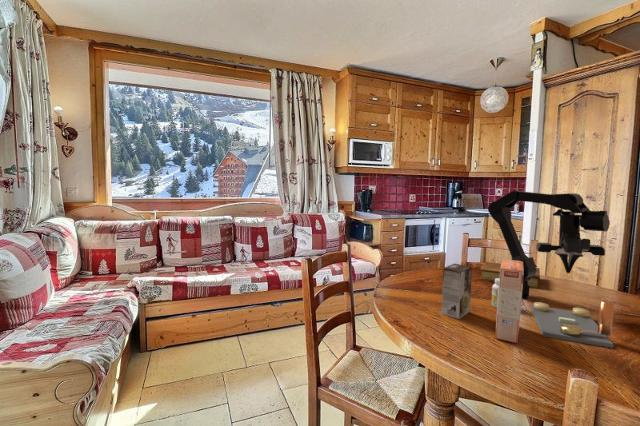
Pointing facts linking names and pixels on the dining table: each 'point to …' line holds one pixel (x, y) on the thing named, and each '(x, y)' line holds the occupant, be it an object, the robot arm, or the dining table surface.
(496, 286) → the supplement bottle
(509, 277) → the cracker box
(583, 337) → the base
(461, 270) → the coffee box
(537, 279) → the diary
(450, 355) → the dining table surface
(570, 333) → the screw handle
